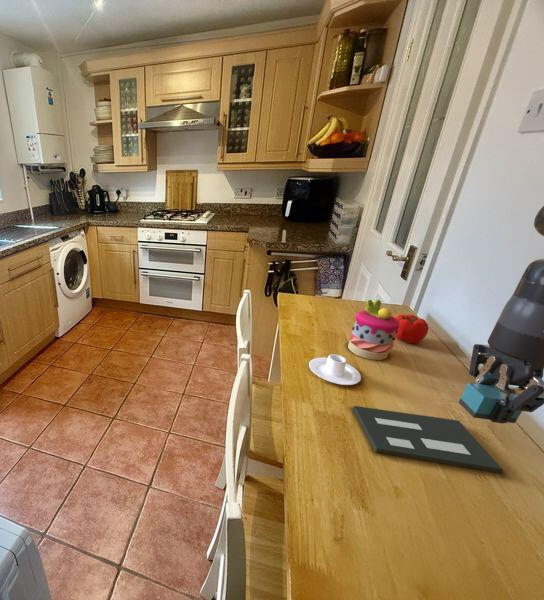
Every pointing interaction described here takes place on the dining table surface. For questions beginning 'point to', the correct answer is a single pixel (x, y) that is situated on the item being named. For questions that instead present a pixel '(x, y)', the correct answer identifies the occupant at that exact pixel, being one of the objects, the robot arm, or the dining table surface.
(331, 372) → the candle holder
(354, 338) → the cake
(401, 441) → the chalkboard
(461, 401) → the eraser
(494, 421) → the robot arm
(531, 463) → the dining table surface
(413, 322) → the tomato
